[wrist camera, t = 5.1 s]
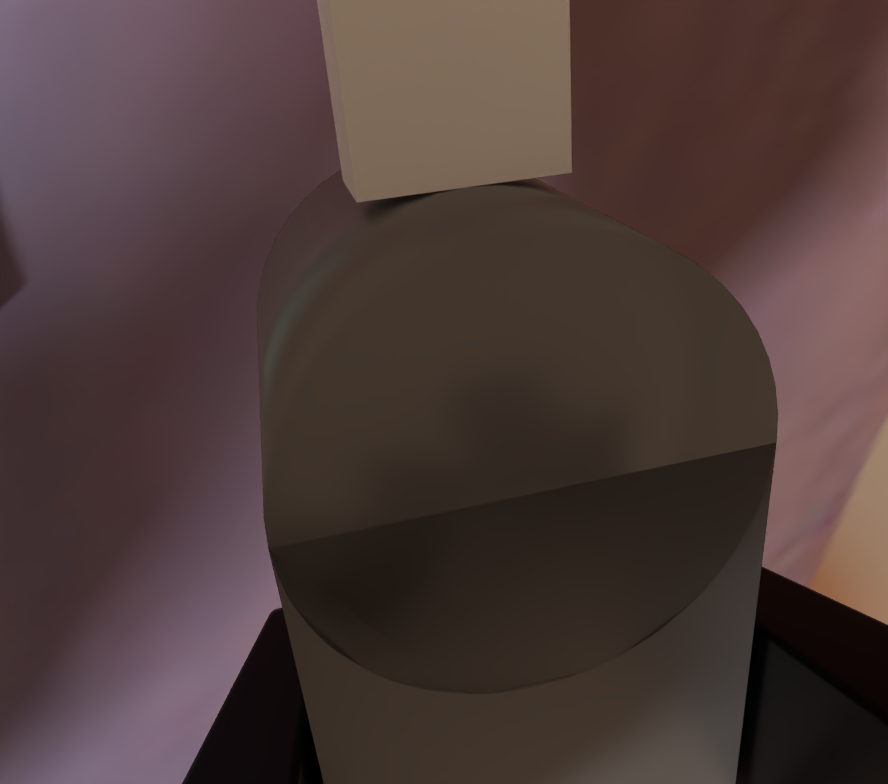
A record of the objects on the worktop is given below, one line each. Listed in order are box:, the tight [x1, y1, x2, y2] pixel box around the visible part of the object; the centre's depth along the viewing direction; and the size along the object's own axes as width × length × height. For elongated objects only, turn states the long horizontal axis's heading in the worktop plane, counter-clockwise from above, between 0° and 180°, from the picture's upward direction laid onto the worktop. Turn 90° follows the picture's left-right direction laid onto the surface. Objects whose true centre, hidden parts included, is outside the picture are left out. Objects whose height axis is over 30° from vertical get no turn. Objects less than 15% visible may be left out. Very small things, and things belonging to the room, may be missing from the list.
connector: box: [257, 0, 778, 784], centre depth 8 cm, size 12×4×4 cm, turn 5°
